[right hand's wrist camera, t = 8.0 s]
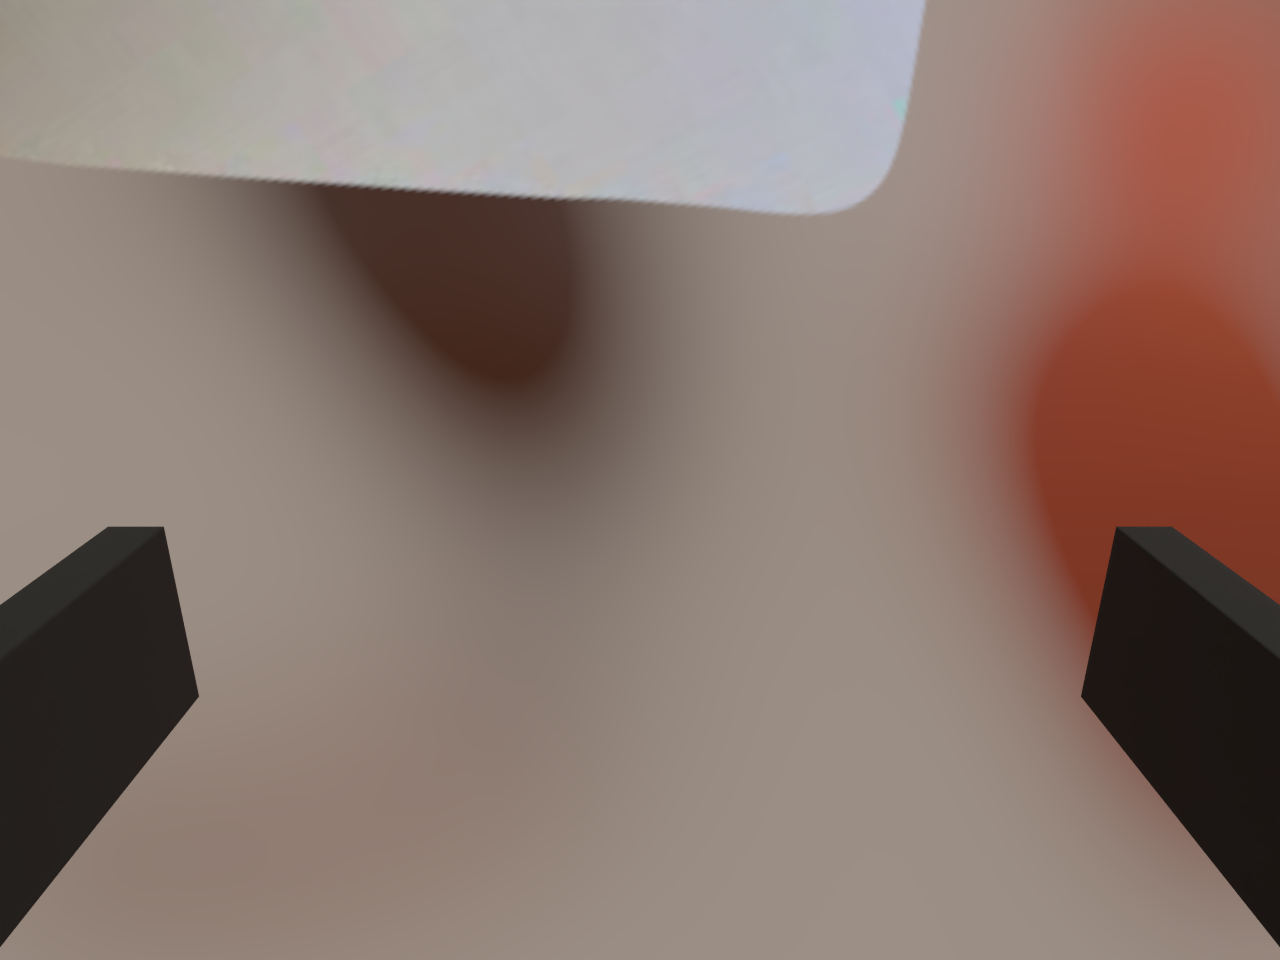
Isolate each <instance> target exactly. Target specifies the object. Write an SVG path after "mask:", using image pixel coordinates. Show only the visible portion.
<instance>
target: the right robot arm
mask: <svg viewBox="0 0 1280 960" xmlns="http://www.w3.org/2000/svg"><path fill="white" fill-rule="evenodd" d="M198 697H199V694H198V689H197V685H196V680H195V675H194V670H193V666H192V661H191V656H190V651H189V646H188V641H187V637H186V632H185V627H184V622H183V617H182V613H181V608H180V603H179V598H178V593H177V588H176V584H175V579H174V574H173V569H172V565H171V560H170V555H169V550H168V545H167V540H166V536H165V531H164V527H107V528H106V529H104V530H103V531H102V532H100V533H99V534H98V535H96V536H95V537H93V538H92V539H91V540H89V541H88V542H86V543H85V544H84V545H82V546H81V547H80V548H78V549H77V550H75V551H74V552H73V553H71V554H70V555H69V556H67V557H66V558H64V559H63V560H62V561H60V562H59V563H58V564H56V565H55V566H53V567H52V568H51V569H49V570H48V571H46V572H45V573H44V574H42V575H41V576H40V577H38V578H37V579H35V580H34V581H33V582H31V583H30V584H29V585H27V586H26V587H24V588H23V589H22V590H20V591H19V592H18V593H16V594H15V595H13V596H12V597H11V598H9V599H8V600H7V601H5V602H4V603H3V604H1V605H0V947H1V945H2V944H3V943H4V942H5V940H6V939H7V938H8V936H9V935H10V934H11V933H12V931H13V930H14V929H15V928H16V926H17V925H18V924H19V923H20V921H21V920H22V919H23V918H24V916H25V915H26V914H27V912H28V911H29V910H30V909H31V907H32V906H33V905H34V904H35V902H36V901H37V900H38V899H39V897H40V896H41V895H42V894H43V892H44V891H45V890H46V889H47V887H48V886H49V885H50V884H51V882H52V881H53V880H54V878H55V877H56V876H57V875H58V873H59V872H60V871H61V870H62V868H63V867H64V866H65V865H66V863H67V862H68V861H69V860H70V858H71V857H72V856H73V855H74V853H75V852H76V851H77V850H78V848H79V847H80V846H81V844H82V843H83V842H84V841H85V839H86V838H87V837H88V836H89V834H90V833H91V832H92V831H93V829H94V828H95V827H96V825H97V824H98V823H99V822H100V821H101V819H102V818H103V817H104V815H105V814H106V813H107V812H108V810H109V809H110V808H111V807H112V805H113V804H114V803H115V802H116V800H117V799H118V798H119V796H120V795H121V794H122V793H123V791H124V790H125V789H126V788H127V787H128V785H129V784H130V783H131V781H132V780H133V779H134V778H135V776H136V775H137V774H138V773H139V771H140V770H141V769H142V768H143V766H144V765H145V764H146V763H147V761H148V760H149V759H150V758H151V756H152V755H153V754H154V752H155V751H156V750H157V749H158V747H159V746H160V745H161V744H162V742H163V741H164V740H165V739H166V737H167V736H168V735H169V734H170V732H171V731H172V730H173V729H174V727H175V726H176V725H177V723H178V722H179V721H180V720H181V718H182V717H183V716H184V715H185V713H186V712H187V711H188V710H189V708H190V707H191V706H192V705H193V703H194V702H195V701H196V699H197V698H198ZM1081 697H1082V698H1083V700H1084V701H1085V702H1086V703H1087V705H1088V706H1089V707H1090V708H1091V710H1092V711H1093V712H1094V713H1095V715H1096V716H1097V717H1098V718H1099V720H1100V721H1101V722H1102V723H1103V725H1104V726H1105V727H1106V729H1107V730H1108V731H1109V732H1110V734H1111V735H1112V736H1113V737H1114V739H1115V740H1116V741H1117V742H1118V744H1119V745H1120V746H1121V747H1122V749H1123V750H1124V751H1125V752H1126V754H1127V755H1128V756H1129V758H1130V759H1131V760H1132V761H1133V763H1134V764H1135V765H1136V766H1137V768H1138V769H1139V770H1140V771H1141V773H1142V774H1143V775H1144V776H1145V778H1146V779H1147V780H1148V781H1149V783H1150V784H1151V785H1152V786H1153V788H1154V789H1155V790H1156V792H1157V793H1158V794H1159V795H1160V797H1161V798H1162V799H1163V800H1164V802H1165V803H1166V804H1167V805H1168V807H1169V808H1170V809H1171V810H1172V812H1173V813H1174V814H1175V815H1176V817H1177V818H1178V819H1179V821H1180V822H1181V823H1182V824H1183V826H1184V827H1185V828H1186V829H1187V831H1188V832H1189V833H1190V834H1191V836H1192V837H1193V838H1194V839H1195V841H1196V842H1197V843H1198V844H1199V846H1200V847H1201V848H1202V850H1203V851H1204V852H1205V853H1206V855H1207V856H1208V857H1209V858H1210V860H1211V861H1212V862H1213V863H1214V865H1215V866H1216V867H1217V868H1218V870H1219V871H1220V872H1221V873H1222V875H1223V876H1224V877H1225V878H1226V880H1227V881H1228V882H1229V884H1230V885H1231V886H1232V887H1233V889H1234V890H1235V891H1236V892H1237V894H1238V895H1239V896H1240V897H1241V899H1242V900H1243V901H1244V902H1245V904H1246V905H1247V906H1248V908H1249V909H1250V910H1251V911H1252V913H1253V914H1254V915H1255V916H1256V918H1257V919H1258V920H1259V921H1260V923H1261V924H1262V925H1263V926H1264V928H1265V929H1266V930H1267V931H1268V933H1269V934H1270V935H1271V936H1272V938H1273V939H1274V940H1275V942H1276V943H1277V944H1278V945H1279V947H1280V605H1279V604H1278V603H1276V602H1275V601H1273V600H1272V599H1271V598H1269V597H1268V596H1266V595H1265V594H1264V593H1262V592H1261V591H1260V590H1258V589H1257V588H1256V587H1254V586H1253V585H1251V584H1250V583H1249V582H1247V581H1246V580H1245V579H1243V578H1242V577H1240V576H1239V575H1238V574H1236V573H1235V572H1234V571H1232V570H1231V569H1229V568H1228V567H1227V566H1225V565H1224V564H1223V563H1221V562H1220V561H1218V560H1217V559H1215V558H1214V557H1213V556H1211V555H1210V554H1209V553H1207V552H1206V551H1204V550H1203V549H1202V548H1200V547H1199V546H1198V545H1196V544H1195V543H1194V542H1192V541H1191V540H1189V539H1188V538H1187V537H1185V536H1184V535H1183V534H1181V533H1180V532H1178V531H1177V530H1176V529H1174V528H1173V527H1116V531H1115V536H1114V540H1113V545H1112V550H1111V555H1110V560H1109V564H1108V569H1107V574H1106V579H1105V584H1104V589H1103V593H1102V598H1101V603H1100V608H1099V613H1098V617H1097V622H1096V627H1095V632H1094V637H1093V641H1092V646H1091V651H1090V656H1089V661H1088V665H1087V670H1086V675H1085V680H1084V685H1083V689H1082V695H1081Z"/></svg>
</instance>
